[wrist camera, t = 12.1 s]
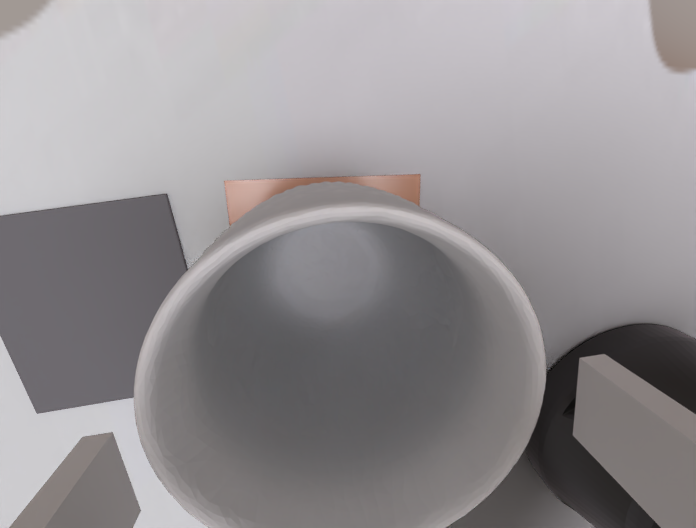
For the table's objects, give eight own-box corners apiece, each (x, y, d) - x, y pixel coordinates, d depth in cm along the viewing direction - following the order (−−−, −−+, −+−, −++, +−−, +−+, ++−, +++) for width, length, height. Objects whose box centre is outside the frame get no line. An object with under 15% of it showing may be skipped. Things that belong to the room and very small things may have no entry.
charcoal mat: (170, 192, 20) (165, 194, 20) (219, 375, 24) (217, 383, 23) (-39, 220, 20) (-52, 223, 19) (45, 405, 23) (36, 413, 22)
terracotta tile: (416, 173, 22) (420, 174, 21) (410, 351, 25) (414, 357, 24) (227, 179, 21) (224, 180, 20) (249, 364, 24) (247, 371, 23)
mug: (483, 308, 24) (674, 475, 12) (359, 411, 25) (412, 660, 13) (331, 128, 20) (375, 85, 7) (190, 262, 21) (24, 421, 9)
